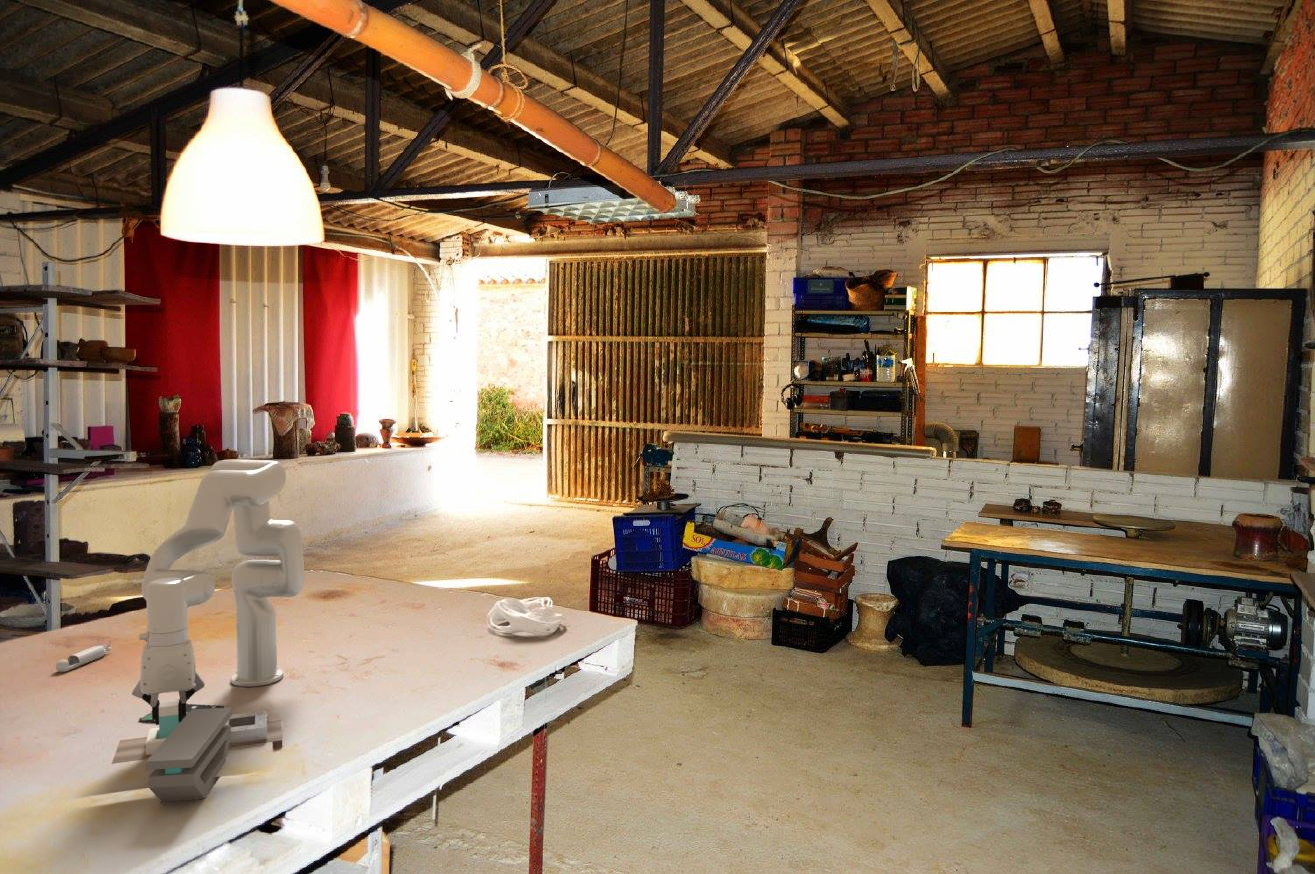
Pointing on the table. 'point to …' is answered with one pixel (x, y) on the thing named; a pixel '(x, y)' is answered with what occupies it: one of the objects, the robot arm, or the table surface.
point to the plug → (168, 717)
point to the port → (248, 727)
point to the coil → (524, 616)
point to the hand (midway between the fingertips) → (169, 720)
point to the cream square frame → (153, 741)
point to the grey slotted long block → (191, 756)
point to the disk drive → (188, 708)
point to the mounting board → (137, 751)
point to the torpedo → (82, 657)
